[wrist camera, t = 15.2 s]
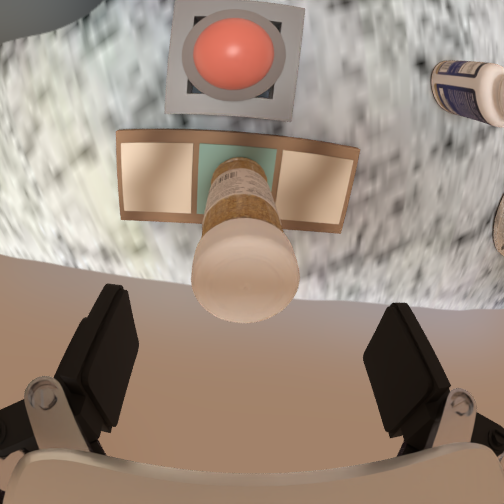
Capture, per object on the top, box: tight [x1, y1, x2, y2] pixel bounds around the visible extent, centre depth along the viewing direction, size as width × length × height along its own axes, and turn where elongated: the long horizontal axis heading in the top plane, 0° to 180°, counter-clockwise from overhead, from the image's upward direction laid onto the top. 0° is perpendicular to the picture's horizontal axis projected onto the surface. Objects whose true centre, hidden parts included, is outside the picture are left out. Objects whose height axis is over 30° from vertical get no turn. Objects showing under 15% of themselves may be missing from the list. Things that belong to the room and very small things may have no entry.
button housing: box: [165, 0, 305, 122], centre depth 18 cm, size 9×9×3 cm
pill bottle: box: [431, 61, 504, 127], centre depth 16 cm, size 5×5×10 cm
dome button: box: [182, 9, 286, 101], centre depth 16 cm, size 7×7×6 cm
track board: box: [116, 129, 360, 234], centre depth 24 cm, size 20×8×1 cm, turn 84°
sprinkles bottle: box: [191, 157, 300, 323], centre depth 18 cm, size 5×5×14 cm
